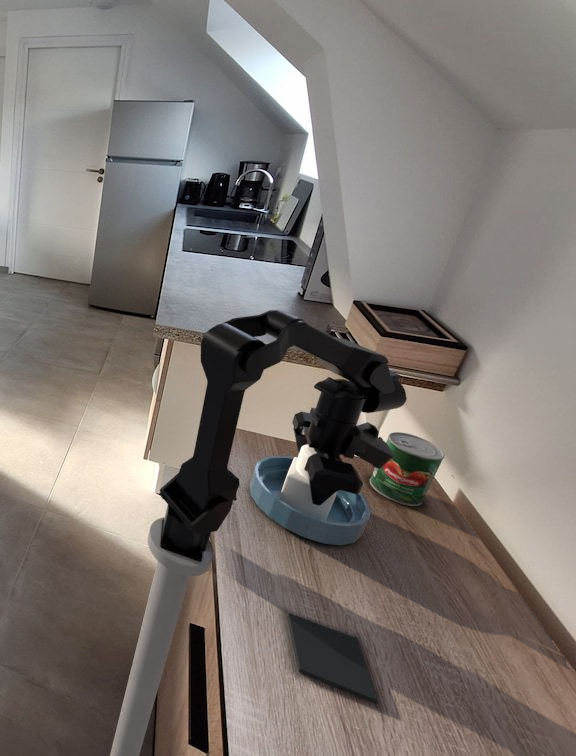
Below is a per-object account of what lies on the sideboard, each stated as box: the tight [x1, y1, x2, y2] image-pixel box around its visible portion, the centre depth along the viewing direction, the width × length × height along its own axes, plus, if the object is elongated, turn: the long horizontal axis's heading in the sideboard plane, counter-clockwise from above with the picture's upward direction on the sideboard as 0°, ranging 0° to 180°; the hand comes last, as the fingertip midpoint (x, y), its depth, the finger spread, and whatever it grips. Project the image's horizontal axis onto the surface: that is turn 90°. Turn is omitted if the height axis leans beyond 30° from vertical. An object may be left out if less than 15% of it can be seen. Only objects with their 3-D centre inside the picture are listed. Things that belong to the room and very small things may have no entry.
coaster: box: [287, 612, 379, 704], centre depth 59 cm, size 8×8×1 cm
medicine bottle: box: [279, 444, 344, 521], centre depth 81 cm, size 7×7×12 cm
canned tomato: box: [369, 431, 445, 507], centre depth 87 cm, size 8×8×11 cm
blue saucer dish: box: [248, 455, 371, 546], centre depth 83 cm, size 17×17×5 cm
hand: (310, 486), depth 82 cm, fingers open, 9 cm apart
